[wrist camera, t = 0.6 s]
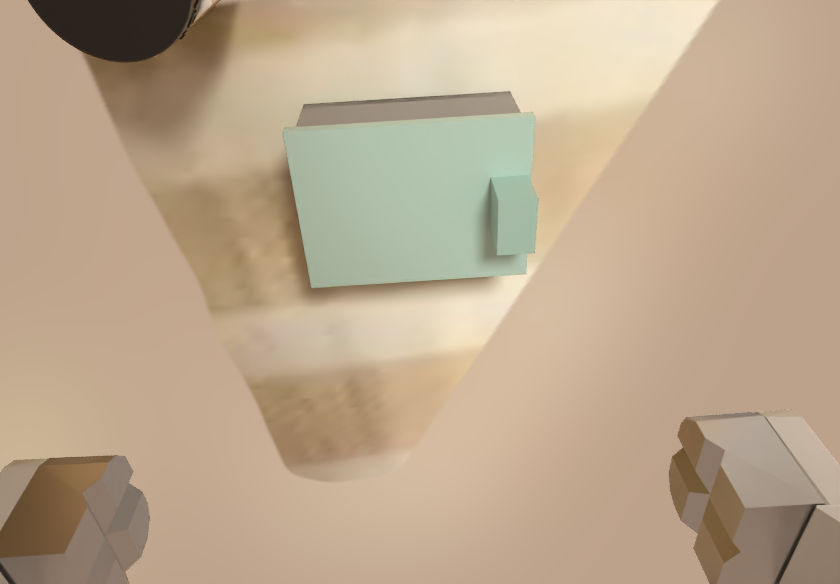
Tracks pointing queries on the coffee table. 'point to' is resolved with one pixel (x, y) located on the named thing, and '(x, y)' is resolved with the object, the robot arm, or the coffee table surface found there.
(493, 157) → the lid
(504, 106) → the tub
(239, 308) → the coffee table surface
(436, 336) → the coffee table surface
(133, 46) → the jar
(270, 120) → the coffee table surface
